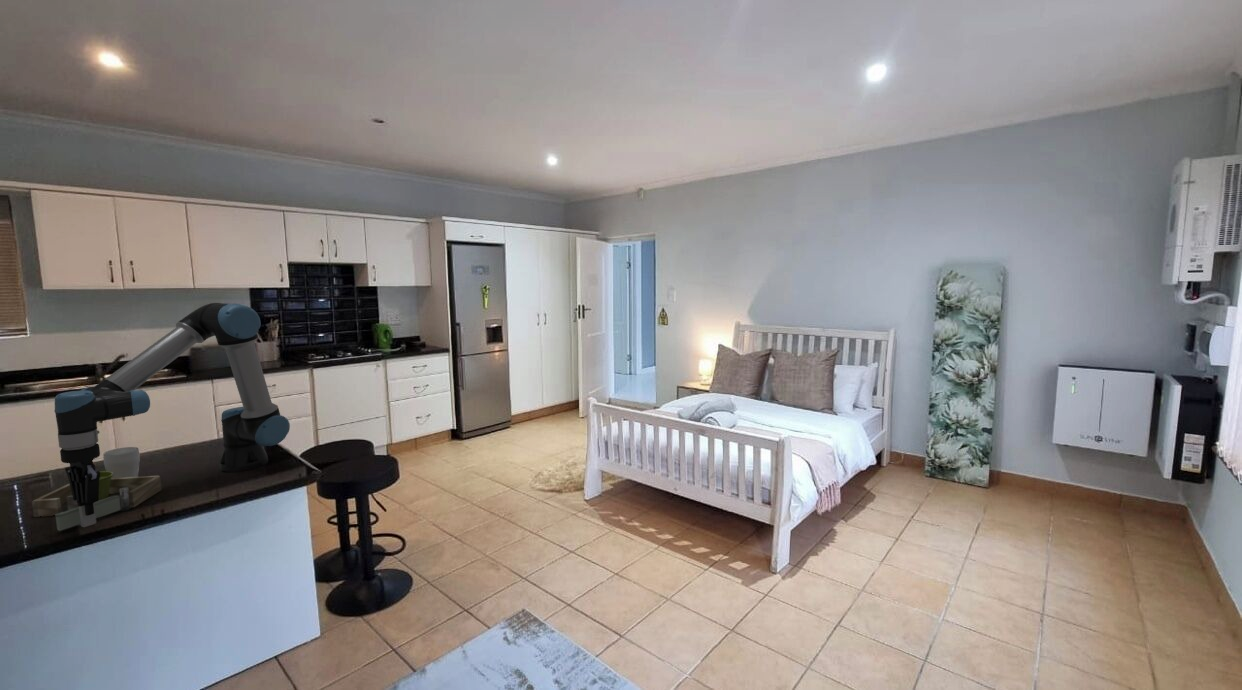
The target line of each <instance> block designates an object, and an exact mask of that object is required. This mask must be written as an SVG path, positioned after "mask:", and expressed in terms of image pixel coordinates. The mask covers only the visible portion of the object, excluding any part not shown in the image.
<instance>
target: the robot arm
mask: <svg viewBox="0 0 1242 690" xmlns="http://www.w3.org/2000/svg"><path fill="white" fill-rule="evenodd" d="M260 328H261V318H260V316H259V314H258V313H257V311H256V310H254V309H253V308H251V307H250V306H248V305H243V304H240V303H225V302H224V303H222V302H211V303H207V304H204V305H202V306H200V307H198V308H196V309H195V310H193V311H192V312H190V313H189V314H188V315H186V316H184V317H183V318H182V319H180V320H179V321H178V322H176V323H175V328H173V329H172V330H171V331H170V332H168V333H167V334H165V335H164V336H163V337H161V338H159V339H158V340H157V341H156V342H154V343H153V344H151V345H150V346H149V347H147V348H146V349H145V350H143V351H141V352H140V353H139V354H138V355H136V356H135V357H133V358H132V359H131V360H129V361H128V362H126V363H125V364H124V365H123V366H121V367H120V368H118V369H117V370H115V371H114V372H113V373H112V374H111V375H108V376H107V377H106V378H105V379H103V380H101V381H100V382H99V383H97V384H96V385H93V386H87V387H84V388H82V389H80V390H73V391H67V392H65V391H64V392H62V393H58V394H57V395H56V396H55V397H54V413H55V420H56V425H57V440H58V447H59V448H60V449H59V453H60V461H61V462H62V463H64V464H69V466H66V467H65V468H64V470H65V473H66V475H67V479H68V482H69V483H70V487H71V492H72V496H73V500H74V501H75V500H77V503H78V506H79V514H80V522H81V524H80V527H82V528H85V527H89V526H92V525H94V524H95V525H96V524H97V518H96V515H95V506H94V502H97V501H98V500H99V477H100V472H101V471H99V470H98V471H96V465H95V464H94V460H95V459H97V458H98V457H100V455H101V450H100V444H99V443H98V442H99V435H98V434H100V431H99V430H98V422H105V421H110V420H116V419H121V418H126V417H127V418H128V417H134V416H138V415H141V414H145V413H147V412H148V411H149V410H150V408H151V399H150V396H149V394H148V393H147V392H146V391H145V390H143V389H138V388H140V387H141V385H143V384H145V383H146V382H147V381H148V380H150V379H151V378H152V377H153V376H155V375H156V374H158V373H159V372H160V371H161V370H163V369H164V368H165V367H167V366H168V365H170V364H171V363H172V362H174V361H175V360H176V359H178V358H179V357H180V356H181V355H182V354H183V355H184V353H185V352H187V351H188V350H190V348H192V347H193V346H195V345H196V344H202V343H204V342H205V341H207V340H208V339H210V338H211V337H215V339H216V341H217V345H218V346H219V347H220V348H223V349H225V353H226V355H227V359H228V362H229V365H230V368H231V372H232V375H233V378H234V382H235V385H236V388H237V392H238V394H239V395H238V396H239V398H240V401H241V403H242V406H238V407H233V408H228V409H225V410H223V411H222V413H221V419H220V420H221V421H220V422H221V429H222V442H223V451H222V454H221V456H220V460H219V466H218V467H219V470H220V471H221V472H228V473H237V472H246V471H250V470H255V469H257V468H260V467H262V466H264V465H266V464H268V462H269V457H268V454H267V452H266V450H265V448H264V447H266V446H267V447H273V446H276V445H278V444H280V443H281V442H283V441H284V440H285V439H286V438H287V435H288V434H289V432H290V427H291V425H290V421H289V419H288V418H287V417H286V416H284V415H282V414H281V412H280V410H279V406H278V404H276V403H273V402H272V399H271V394H270V391H269V388H268V384H267V381H266V379H265V375H264V372H263V368H262V364H261V362H260V358H259V354H258V350H257V347H256V345H255V343H256V342H257V340H258V339H259V337H258V333H259V329H260ZM69 483H68V484H69Z"/></svg>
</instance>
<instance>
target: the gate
mask: <svg viewBox="0 0 1242 690" xmlns="http://www.w3.org/2000/svg"><path fill="white" fill-rule="evenodd" d="M94 506H95V515H96V519H97V518H101V517H104V516H107V515H110V514H112V513H116V512H118V511H121V502H120V494H114V495H111V496H108V498H105V499H102V500H98V501H97V502H94ZM54 517H55V522H56V528H57V529H56V530H57V531H59V532H60V531H63V530H67V529H69V528H72V527H75V526H77V525H78V526H79V525H81V522H80V514H79V507H77V508H74V509H70V510H68V509H67V510H65V511H62V512H61V513H58V514H55V516H54Z"/></svg>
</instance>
